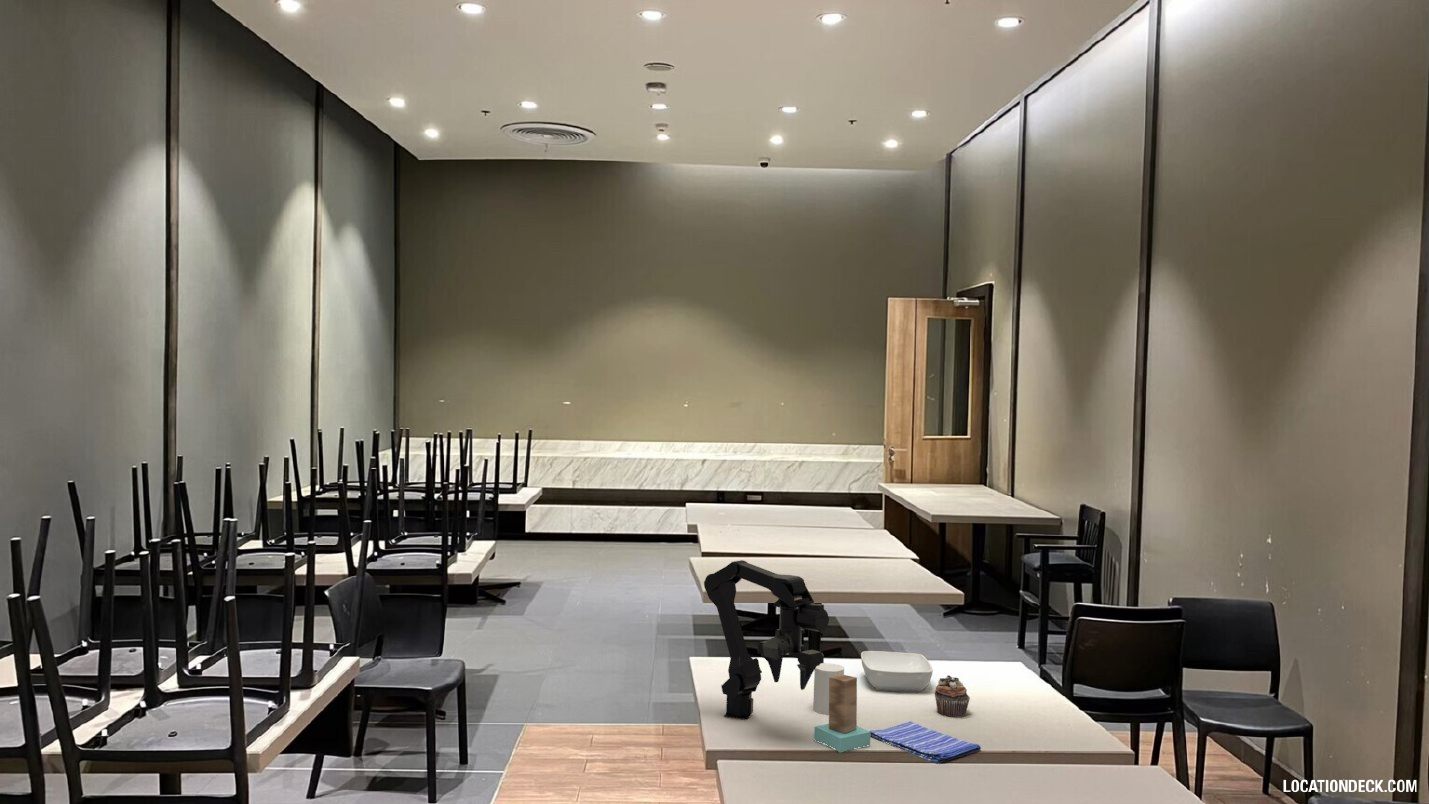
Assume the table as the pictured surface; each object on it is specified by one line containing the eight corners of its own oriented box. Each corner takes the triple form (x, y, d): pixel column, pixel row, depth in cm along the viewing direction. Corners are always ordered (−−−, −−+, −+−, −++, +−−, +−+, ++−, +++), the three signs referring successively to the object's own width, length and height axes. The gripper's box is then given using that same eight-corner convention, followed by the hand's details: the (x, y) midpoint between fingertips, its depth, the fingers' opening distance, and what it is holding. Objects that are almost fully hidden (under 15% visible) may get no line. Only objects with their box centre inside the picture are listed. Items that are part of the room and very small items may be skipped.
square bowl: (935, 696, 310) (936, 670, 309) (865, 694, 310) (866, 668, 310) (922, 676, 330) (923, 652, 330) (857, 674, 330) (858, 649, 330)
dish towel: (939, 766, 255) (939, 755, 255) (866, 738, 273) (867, 727, 273) (983, 752, 265) (983, 741, 265) (910, 726, 284) (911, 715, 284)
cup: (841, 715, 289) (842, 672, 288) (811, 712, 290) (813, 669, 290) (843, 706, 297) (845, 664, 296) (814, 704, 298) (816, 661, 298)
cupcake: (962, 720, 288) (964, 684, 288) (928, 713, 293) (930, 677, 293) (973, 711, 296) (975, 676, 296) (940, 705, 301) (942, 670, 301)
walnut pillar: (828, 728, 267) (829, 677, 267) (840, 724, 271) (840, 674, 271) (844, 733, 264) (845, 681, 264) (856, 728, 267) (856, 677, 267)
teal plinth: (814, 741, 269) (814, 726, 269) (843, 735, 274) (844, 720, 274) (839, 754, 260) (840, 738, 260) (870, 747, 266) (870, 731, 266)
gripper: (743, 623, 275) (742, 683, 275) (796, 636, 262) (794, 698, 262) (772, 618, 283) (771, 676, 283) (825, 630, 269) (824, 691, 269)
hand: (789, 685), depth 274 cm, fingers open, 9 cm apart
